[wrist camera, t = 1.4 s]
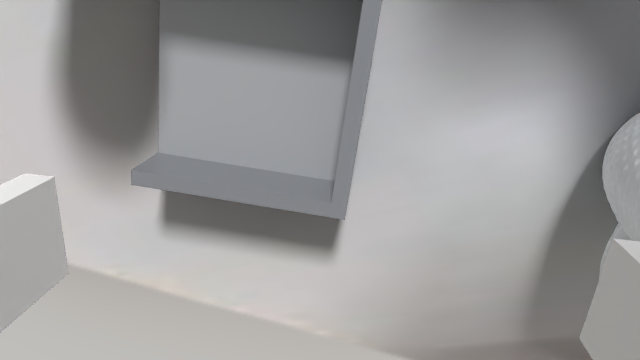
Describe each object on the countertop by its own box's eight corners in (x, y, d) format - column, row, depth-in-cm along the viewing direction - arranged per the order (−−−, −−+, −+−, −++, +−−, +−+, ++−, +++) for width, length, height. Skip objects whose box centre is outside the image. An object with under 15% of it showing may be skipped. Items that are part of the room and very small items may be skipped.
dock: (169, -43, 29) (127, -55, 24) (382, -13, 29) (385, -19, 24) (166, 159, 34) (131, 184, 29) (348, 188, 34) (344, 219, 29)
